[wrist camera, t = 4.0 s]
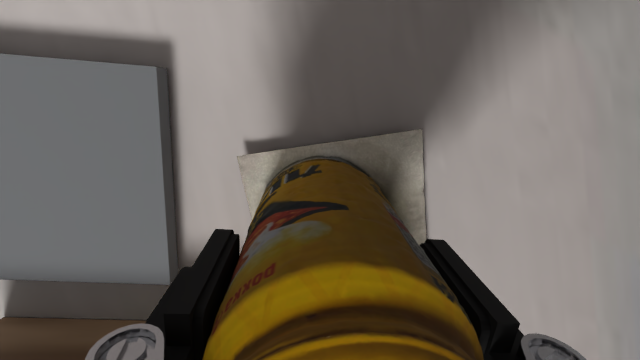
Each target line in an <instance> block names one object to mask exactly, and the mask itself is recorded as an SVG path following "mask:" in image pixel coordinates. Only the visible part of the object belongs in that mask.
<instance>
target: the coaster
mask: <svg viewBox="0 0 640 360" xmlns="http://www.w3.org/2000/svg"><path fill="white" fill-rule="evenodd" d="M177 274H178V259H177V241H176V223H175V205H174V187H173V169H172V151H171V133H170V115H169V97H168V79H167V69H166V68H160V67H153V66H142V65H130V64H118V63H106V62H94V61H83V60H71V59H59V58H47V57H35V56H24V55H12V54H0V279H4V280H34V281H65V282H96V283H127V284H157V285H170V284H171V283H172V282H173V280H174V279H175V277H176V276H177Z"/></svg>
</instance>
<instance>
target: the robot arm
mask: <svg viewBox="0 0 640 360" xmlns="http://www.w3.org/2000/svg"><path fill="white" fill-rule="evenodd" d="M420 247H421V248H422V249H423V250H424V252H425V254H426V255H427V257H428V258H429V259H430V261H431V262H432V264H433V265H434V267H435V268H436V269H437V271H438V272H439V274H440V275H441V277H442V278H443V280H444V281H445V282H446V284H447V285H448V287H449V288H450V289H451V290H452V292H453V293H454V294H455V296H456V297H457V300H458V302H459V304H460V305H461V306H462V307H463V308H464V311H465V312H466V314H467V315H468V317H469V319H470V321H471V323H472V325H473V327H474V329H475V331H476V334H477V337H478V340H479V343H480V345H481V349H482V352H483V358H484V360H586V359H585V358H584V357H583V356H582V355H581V354H580V353H579V352H577V351H576V350H574V349H573V348H571V347H570V346H568V345H567V344H565V343H563V342H561V341H559V340H557V339H555V338H552V337H549V336H546V335H542V334H527V335H525V336H524V335H523V334H522V333H521V331H520V330H519V329H518V328H519V325H520V323H519V322H518V321H517V320H516V318H515V317H514V316H513V315H512V314H511V313H510V312H509V311H508V310H507V309H506V307H505V306H504V305H503V304H502V303H501V302H500V301H499V300H498V299H497V298H496V297H495V295H494V294H493V293H492V292H491V291H490V290H489V289H488V288H487V287H486V286H485V284H484V283H483V282H482V281H481V280H480V279H479V278H478V277H477V276H476V275H475V273H474V272H473V271H472V270H471V269H470V268H469V267H468V266H467V265H466V264H465V262H464V261H463V260H462V259H461V258H460V257H459V256H458V255H457V254H456V253H455V251H454V250H453V249H452V248H451V247H450V246H449V245H448V244H447V243H446V242H445V241H444V240H433V239H427V240H426V241H425V242H424V243H421V244H420ZM238 260H239V234H234V231H233V230H225V229H215V231H214V232H213V234H212V236H211V237H210V239H209V240H208V242H207V244H206V245H205V247H204V249H203V250H202V252H201V253H200V255H199V257H198V258H197V260H196V261H195V263H194V265H193V266H192V267H184V268H182V269H181V270H180V272H179V273H178V275H177V276H176V278H175V279H174V281H173V282H172V284H171V285H170V287H169V288H168V290H167V291H166V293H165V294H164V296H163V297H162V299H161V300H160V302H159V303H158V305H157V306H156V308H155V309H154V311H153V312H152V314H151V315H150V317H149V318H148V320H147V321H146V323H145V324H142V323H140V324H132V325H128V326H125V327H121V328H118V329H116V330H114V331H112V332H110V333H108V334H107V335H105V336H104V337H103V338H101V339H100V340H99V341H97V342H96V343H95V345H94V346H93V347H92V348H91V349H90V350H89V352H88V354H87V356H86V358H85V360H202V359H203V355H204V352H205V348H206V345H207V342H208V338H209V337H210V335H211V332H212V327H213V324H214V321H215V318H216V315H217V313H218V310H219V307H220V305H221V303H222V302H223V300H224V297H225V293H226V291H227V289H228V286H229V284H230V281H231V279H232V276H233V273H234V269H235V267H236V265H237V262H238Z"/></svg>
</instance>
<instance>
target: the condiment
mask: <svg viewBox="0 0 640 360" xmlns="http://www.w3.org/2000/svg"><path fill="white" fill-rule="evenodd" d="M237 159H238V163H239V168H240V172H241V176H242V180H243V184H244V189H245V193H246V196H247V200H248V204H249V209H250V214H251V217H252V222H251V224H250V226H249V229H248V235H247V238H246V241H245V243H244V245H243V248H242V251H241V254H240V256H239V260H238V262H237V265H236V267H235V269H234V273H233V276H232V279H231V281H230V284H229V286H228V289H227V291H226V293H225V297H224V300H223V302H222V303H221V305H220V307H219V310H218V313H217V315H216V318H215V321H214V324H213V327H212V332H211V335H210V337H209V338H208V342H207V345H206V348H205V352H204V355H203V359H202V360H484V358H483V352H482V349H481V345H480V343H479V340H478V337H477V334H476V331H475V329H474V327H473V325H472V323H471V321H470V319H469V317H468V315H467V314H466V312H465V311H464V308H463V307H462V306H461V305H460V304H459V302H458V300H457V297H456V296H455V294H454V293H453V292H452V290H451V289H450V288H449V287H448V285H447V284H446V282H445V281H444V280H443V278H442V277H441V275H440V274H439V272H438V271H437V269H436V268H435V267H434V265H433V264H432V262H431V261H430V259H429V258H428V257H427V255H426V254H425V252H424V250H423V249H422V248H421V247H420V244H421V243H424V242H425V241H426V222H425V199H424V192H423V189H424V168H423V137H422V129H417V130H410V131H405V132H397V133H390V134H384V135H379V136H372V137H364V138H358V139H350V140H344V141H336V142H329V143H321V144H314V145H308V146H302V147H294V148H288V149H281V150H274V151H269V152H261V153H254V154H248V155H243V156H238V157H237Z"/></svg>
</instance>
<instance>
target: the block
mask: <svg viewBox="0 0 640 360" xmlns="http://www.w3.org/2000/svg"><path fill="white" fill-rule="evenodd" d="M140 323H142V324H145V323H146V321H141V320H99V319H57V318H15V317H3V318H2V319H0V360H85V358H86V356H87V354H88V352H89V350H90V349H91V348H92V347H93V346H94V345H95V343H96V342H97V341H99V340H100V339H101V338H103V337H104V336H105V335H107V334H108V333H110V332H112V331H114V330H116V329H118V328H121V327H125V326H128V325H132V324H140Z"/></svg>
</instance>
